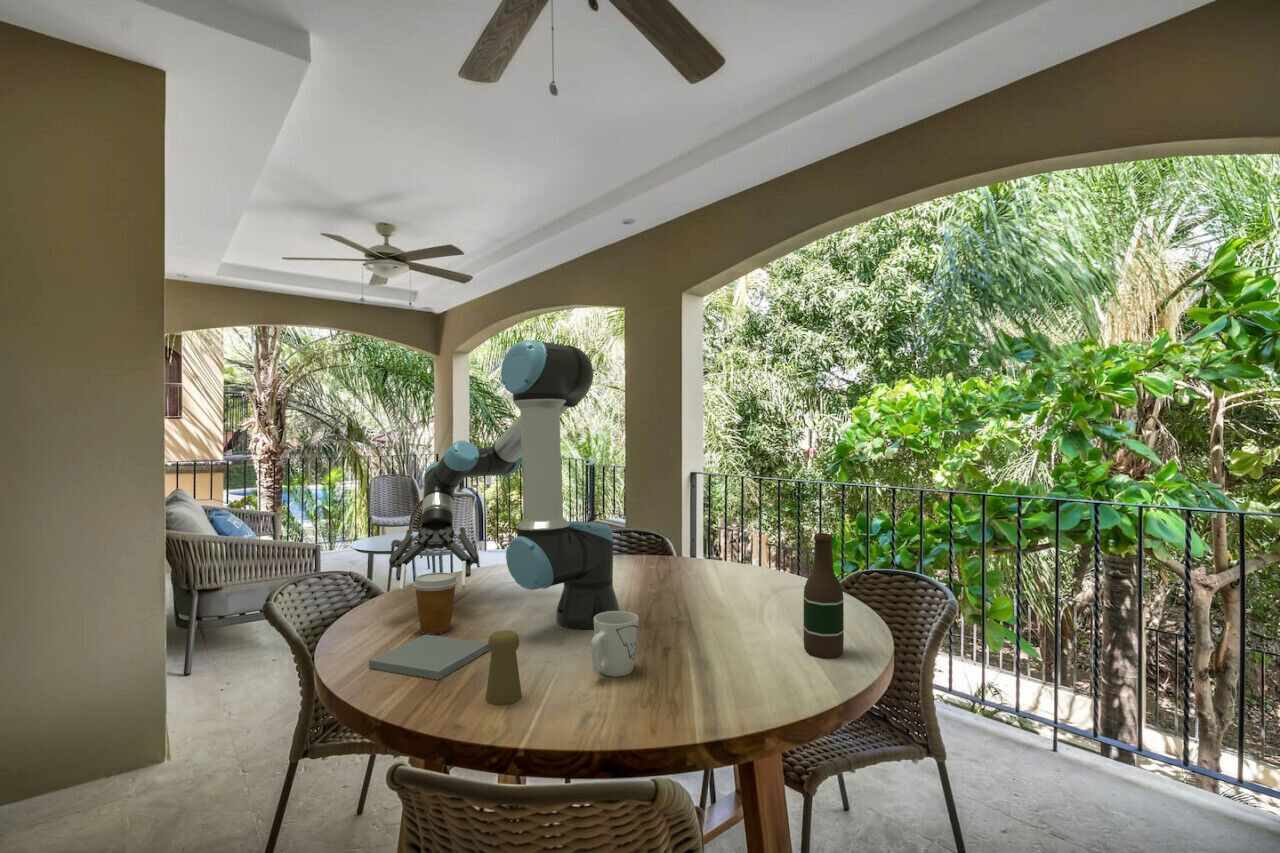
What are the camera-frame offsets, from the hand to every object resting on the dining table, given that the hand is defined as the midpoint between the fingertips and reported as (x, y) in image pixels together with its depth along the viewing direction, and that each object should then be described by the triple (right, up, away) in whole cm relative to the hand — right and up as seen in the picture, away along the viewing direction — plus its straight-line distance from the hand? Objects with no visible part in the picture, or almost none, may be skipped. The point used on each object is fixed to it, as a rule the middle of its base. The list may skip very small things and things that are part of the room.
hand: (432, 590), depth 145 cm
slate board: (+7, -8, -21) cm, 23 cm away
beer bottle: (+85, -8, -17) cm, 87 cm away
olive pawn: (+25, -8, -38) cm, 46 cm away
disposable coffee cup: (+2, -8, -3) cm, 9 cm away
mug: (+42, -8, -28) cm, 51 cm away
